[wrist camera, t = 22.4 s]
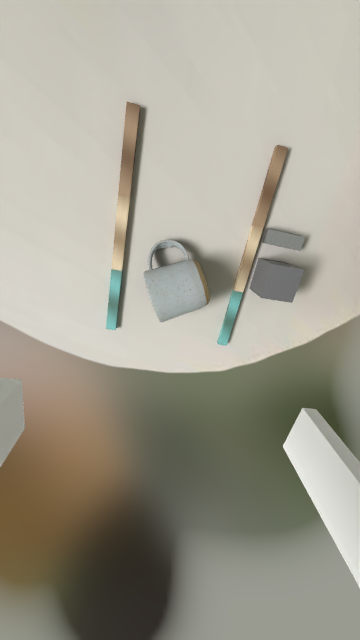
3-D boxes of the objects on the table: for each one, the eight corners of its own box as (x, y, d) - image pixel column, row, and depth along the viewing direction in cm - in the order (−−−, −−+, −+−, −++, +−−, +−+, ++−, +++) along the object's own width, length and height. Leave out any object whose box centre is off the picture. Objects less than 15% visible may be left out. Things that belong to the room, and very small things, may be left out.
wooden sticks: (127, 104, 29) (126, 101, 28) (285, 149, 32) (288, 148, 31) (107, 326, 40) (106, 328, 39) (225, 343, 43) (226, 345, 43)
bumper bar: (264, 228, 36) (268, 228, 35) (299, 236, 37) (305, 237, 36) (259, 241, 37) (263, 243, 35) (295, 249, 38) (300, 250, 36)
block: (272, 263, 33) (261, 297, 35) (304, 269, 34) (292, 302, 36) (258, 258, 38) (249, 288, 40) (287, 263, 39) (276, 292, 41)
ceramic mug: (206, 296, 40) (216, 312, 32) (159, 311, 40) (159, 331, 33) (187, 231, 35) (194, 234, 28) (135, 249, 36) (130, 256, 29)
